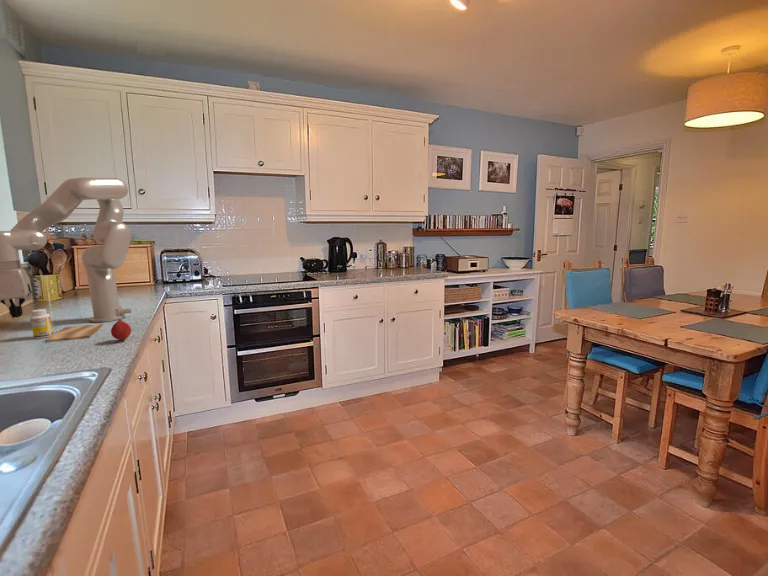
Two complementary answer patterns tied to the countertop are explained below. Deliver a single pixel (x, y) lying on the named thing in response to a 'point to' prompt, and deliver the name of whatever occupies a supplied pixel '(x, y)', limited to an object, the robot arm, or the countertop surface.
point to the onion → (120, 330)
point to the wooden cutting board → (75, 332)
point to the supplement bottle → (41, 324)
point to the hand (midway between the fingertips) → (17, 316)
